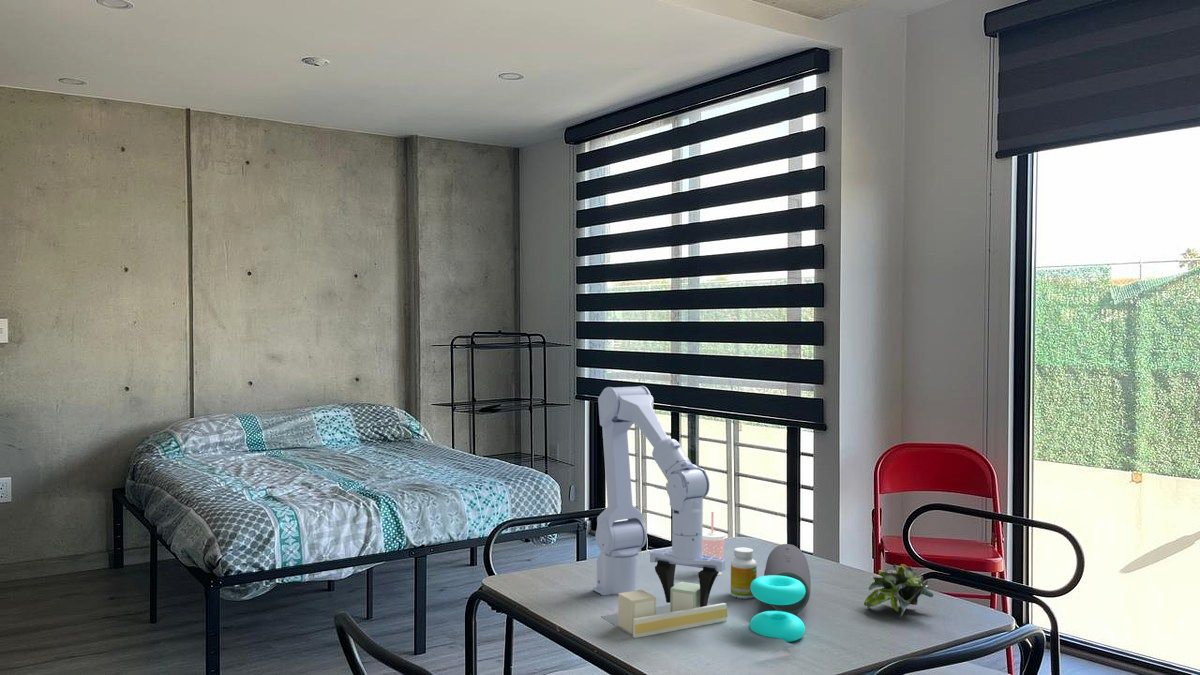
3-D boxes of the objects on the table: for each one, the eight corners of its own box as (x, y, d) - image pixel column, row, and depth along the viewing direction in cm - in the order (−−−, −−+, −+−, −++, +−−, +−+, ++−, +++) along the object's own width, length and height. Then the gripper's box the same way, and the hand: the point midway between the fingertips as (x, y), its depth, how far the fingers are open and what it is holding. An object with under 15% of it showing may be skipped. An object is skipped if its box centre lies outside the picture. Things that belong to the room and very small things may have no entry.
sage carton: (679, 612, 170) (680, 581, 170) (704, 616, 168) (704, 585, 168) (670, 620, 166) (670, 588, 166) (694, 624, 164) (695, 592, 164)
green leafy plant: (902, 633, 179) (937, 586, 179) (907, 641, 168) (944, 591, 168) (855, 597, 182) (889, 550, 182) (857, 603, 171) (894, 553, 171)
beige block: (618, 625, 163) (618, 593, 163) (641, 621, 165) (641, 589, 165) (632, 634, 158) (632, 601, 158) (655, 629, 160) (656, 597, 160)
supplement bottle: (756, 600, 182) (756, 553, 182) (729, 598, 183) (730, 551, 183) (756, 592, 188) (757, 547, 187) (731, 590, 189) (731, 545, 189)
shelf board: (600, 622, 168) (600, 599, 168) (688, 607, 177) (688, 585, 177) (635, 645, 156) (635, 620, 156) (727, 627, 165) (727, 604, 165)
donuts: (769, 570, 169) (815, 580, 162) (768, 622, 169) (815, 634, 162) (739, 581, 161) (787, 592, 155) (739, 635, 162) (786, 649, 155)
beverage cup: (727, 576, 199) (727, 515, 199) (700, 576, 199) (700, 514, 199) (723, 569, 205) (724, 509, 205) (697, 568, 205) (697, 509, 205)
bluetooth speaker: (764, 585, 193) (765, 540, 193) (808, 588, 191) (808, 542, 191) (762, 619, 171) (763, 567, 170) (811, 622, 169) (812, 570, 169)
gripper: (730, 532, 167) (729, 603, 167) (660, 524, 173) (659, 592, 174) (718, 540, 161) (717, 614, 161) (645, 531, 167) (645, 602, 167)
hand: (686, 603), depth 167 cm, fingers open, 6 cm apart
